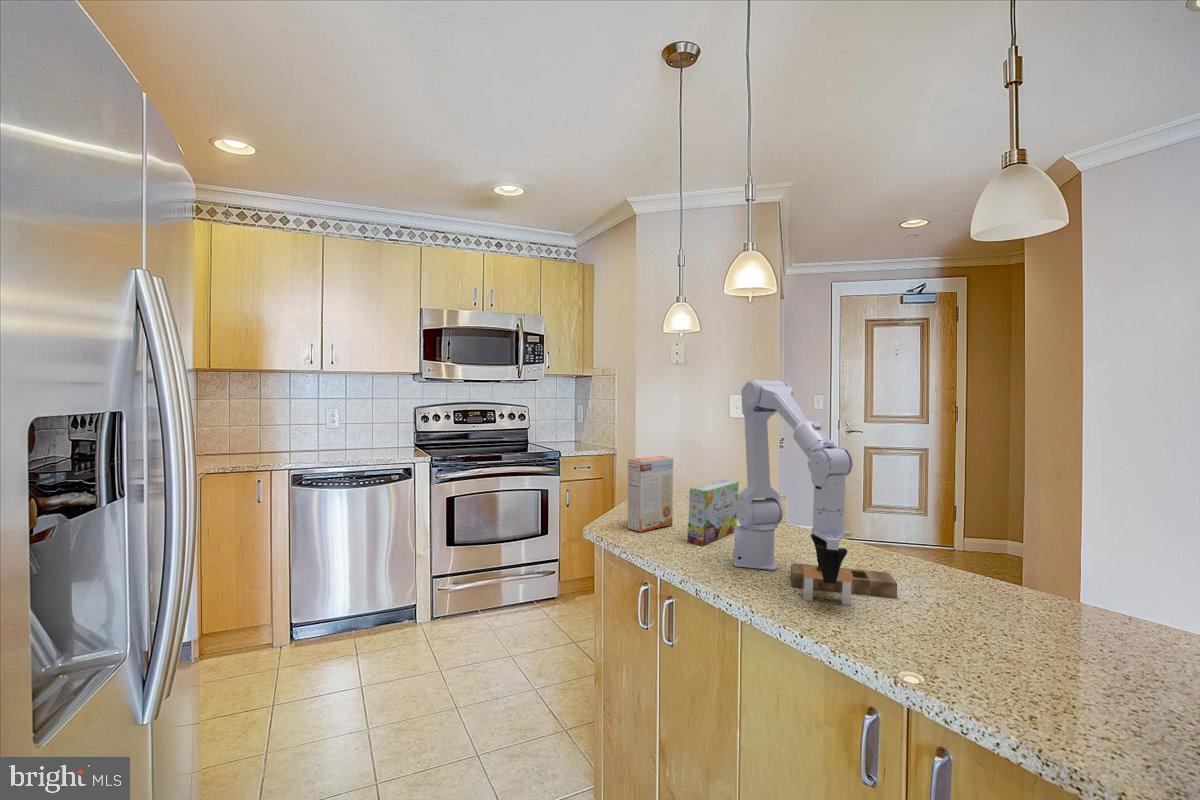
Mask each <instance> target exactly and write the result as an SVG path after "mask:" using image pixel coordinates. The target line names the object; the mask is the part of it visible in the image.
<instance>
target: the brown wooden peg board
mask: <svg viewBox="0 0 1200 800" xmlns="http://www.w3.org/2000/svg"><path fill="white" fill-rule="evenodd" d="M802 566H813V567H819V566H818V565H813V564H806V563H805V564H803V563H795V562H794V563H793V562H790V580H791V587H792V588H799V589H803V573H802ZM840 569H844V570H850V571H851V572H852V574H853V583H852V582H851V594H855V595H863V596H872V597H873V596H874V597H881V598H892V599H898V582H897V580H895V578H894V577H893V576H892V575H891V572H888V571H887V572H886V571H877V570H876V571H874V570H865V569H864V570H863V569H855V568H844V567H840ZM813 590H815V591H816V590H819V591H824V592H825V591H827V592H834V593H835V592H836V593H840V581H836V583H835V584H833V583H825V582H824V580H823V579H813Z"/></svg>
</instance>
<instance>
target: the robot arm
mask: <svg viewBox="0 0 1200 800" xmlns="http://www.w3.org/2000/svg"><path fill="white" fill-rule="evenodd" d="M740 392H741V393H740V394H741V413H742V415H743V418H744V437H745V456H746V457H745V460H746V479H747V483H746V484H747V486H746V487H745V488H744V489H743V490H742V491H740V492H738V503H737V507H736V517H737V522H738V524H740V525H737V526H735V532H734V546H733V547H734V548H733V549H732V557H733V566H734V567H740V568H748V569H759V570H767V571H777V564H776V563H777V562H776V559H775V539H776V538H775V536H776V535H775V531H776V529H778V527H779V526H778V525H779V524H781V522H782V521H783V518H784V508H783V506H782V503H781V497H780V495H781V494H780V493H779V492H777V491H776V490H775V489H774V488H773V487H772V486H771V471H770V468H771V467H770V451H769V448H770V447H769V436H768V435H769V431H768V420H770V418H771V417H772V416H774V415H775V414H777V413H778V414H779V415H780V416H781V417H782V418H783V420H785V422H786V423H787V424H788V425H789V426H790V427H791V428H792V430H794V431H793V433H792V435H793V440H794V441H795V443H796V444H797V445H798V446H799V448H800V449H801V451H802V452H803V453H804V455H806V457H807V459H808V460H807V467H808V471H809V472H810V474H811V479H810V480H811V483H812V485H813V510H812V511H813V513H812V528H811V534H810V538H811V539H812V542H813V545H814V548H815V552H816V560H817V566H819V567H821V569H822V576H823V580H824V582H825V583H833V584H835V583H836V581H837V577H838V573H839V569H840V568H841V565H842V563H843V561H844V559H845V557H846V556H847V554H848V549H847V548H844V547H843V548H842V547H840V545H839V544H840V541H841V540H842V539H844V537H851V532H850V531H849V530H845V506H846V505H845V504H846V503H845V502H846V501H845V500H846V498H845V497H846V477H847V476H848V475H849V474H851V472H852V469H853V457H852V455H851V453H850V452H849V450H848V449H847V448H846V447H842V446H839V445H837V444H835V443H834V442H833V441H832V439H831V438H830V437H829V436H828V434H826V432H825V431H824V430H823V428H822V426H821V424H820V423H818V422H816V421H814V420H813V421H812V420H808V419H807V416H805V414H804V412H803V410H802V409H801V408H800V406H799V405H798V403H797V402H796V400H795V399H794V389H793V387H791V386H790V384H789V382H788V381H786V380H781V379H780V380H769V379H767V380H762V379H753V378H752V379H751V378H750V379H748V380H747V381H746V382H745V384H744V386H743V387H742V388H741V391H740Z"/></svg>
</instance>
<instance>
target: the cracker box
mask: <svg viewBox="0 0 1200 800" xmlns="http://www.w3.org/2000/svg"><path fill="white" fill-rule="evenodd" d="M673 486H674V457H669V456H664V455H659V456H648V457H647V456H646V457H640V458H632V459H627V530H629V529H631V530H630V531H633V530H635V531H634V532H637V531H638V533H640V532H641V533H644V532H643V531H645V532H648V531H647V530H650V531H652V530H651V529H654V530H656V529H655V528H658V529H661V528H660V527H663V528H666V527H665V526H667V527H670V526H669V525H672V526H673V513H674V512H673V511H674V510H673V509H674V508H673V505H674V504H673V503H674V501H673V500H674V499H673V495H674V489H673V488H674V487H673Z"/></svg>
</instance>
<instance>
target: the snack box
mask: <svg viewBox="0 0 1200 800" xmlns="http://www.w3.org/2000/svg"><path fill="white" fill-rule="evenodd" d="M739 483H740V482H739V481H737V480H736V481H735V480H730V479H719V480H716V481H712V482H708V483H705V484H700V485H697V486H694V487H690V488H689V499H688V501H689V503H688V520H687V521H688V522H687V523H688V524H687V525H688V527H687V543H690V542H691V543H690V544H695V545H698V544H699V545H698V546H702V545H703V546H705V545H708V544H710V543H713V542H714V541H718V540H719V538H720V539H722V538H724V537H726V536H728V534H729V535H731V534H733V533H735V532H734V531H735V526H738V525H737V524H738V523H737V522H738V520H737V517H736V507H737V503H738V494H739ZM732 532H733V533H732ZM730 533H731V534H730ZM721 537H722V538H721ZM703 546H702V547H703Z"/></svg>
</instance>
